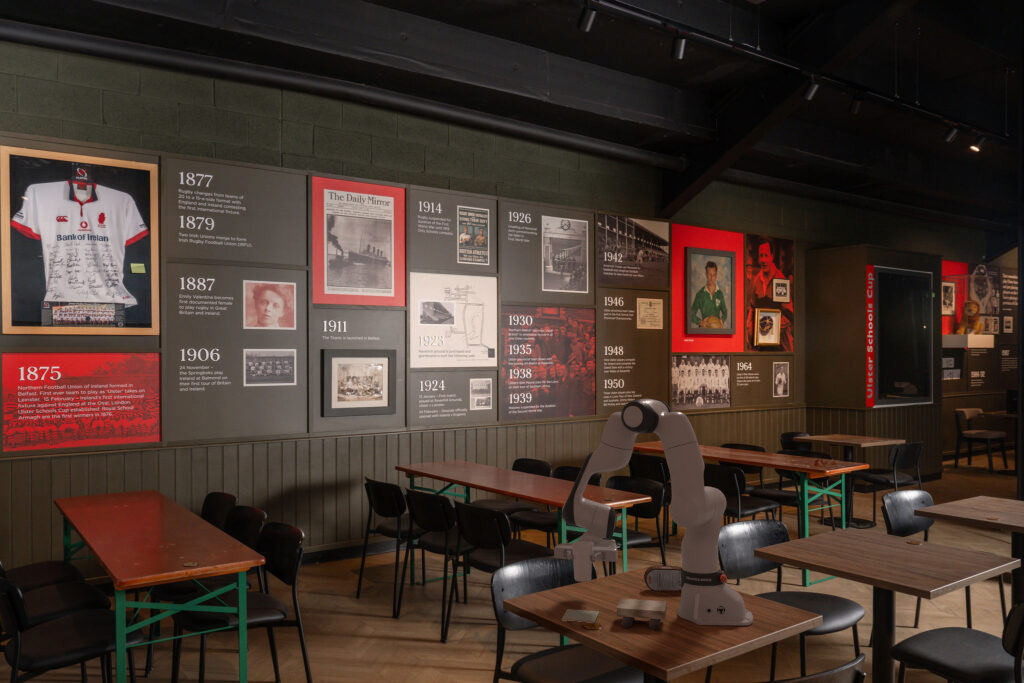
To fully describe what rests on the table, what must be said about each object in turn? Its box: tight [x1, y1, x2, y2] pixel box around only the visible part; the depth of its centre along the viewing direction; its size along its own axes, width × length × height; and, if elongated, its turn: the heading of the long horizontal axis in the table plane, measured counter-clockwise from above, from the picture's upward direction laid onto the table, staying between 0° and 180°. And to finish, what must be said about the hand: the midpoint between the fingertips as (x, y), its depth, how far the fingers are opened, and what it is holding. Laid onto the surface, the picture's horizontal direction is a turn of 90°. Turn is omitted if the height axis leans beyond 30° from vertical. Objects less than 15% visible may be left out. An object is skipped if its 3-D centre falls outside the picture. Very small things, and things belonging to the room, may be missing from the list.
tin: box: [643, 565, 682, 592], centre depth 259 cm, size 15×3×8 cm, turn 84°
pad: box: [561, 608, 600, 624], centre depth 231 cm, size 10×10×1 cm
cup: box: [572, 541, 593, 583], centre depth 234 cm, size 7×7×11 cm
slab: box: [616, 597, 668, 631], centre depth 226 cm, size 14×12×5 cm
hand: (582, 558), depth 233 cm, fingers closed on cup, 6 cm apart
